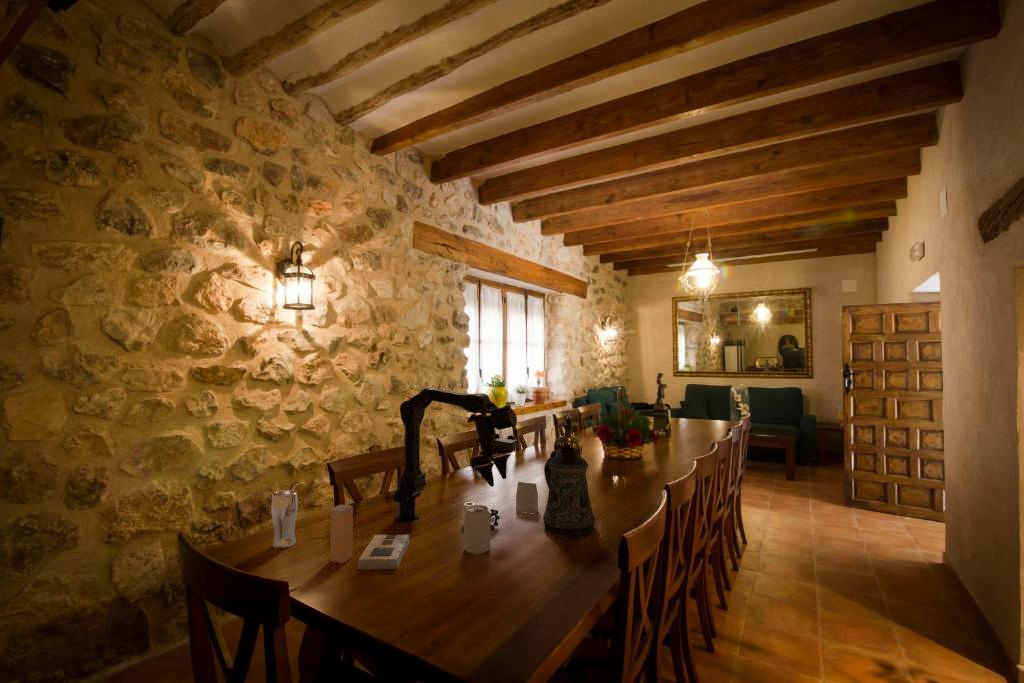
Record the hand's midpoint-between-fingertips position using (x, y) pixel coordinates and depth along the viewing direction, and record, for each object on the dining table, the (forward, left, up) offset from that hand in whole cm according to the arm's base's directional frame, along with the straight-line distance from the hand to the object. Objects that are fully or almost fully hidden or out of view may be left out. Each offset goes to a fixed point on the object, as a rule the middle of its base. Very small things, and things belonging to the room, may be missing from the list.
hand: (498, 482), depth 150 cm
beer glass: (-25, -58, -16) cm, 65 cm away
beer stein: (+7, +20, -16) cm, 27 cm away
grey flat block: (-2, -35, -15) cm, 38 cm away
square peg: (-6, -46, -15) cm, 49 cm away
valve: (-8, -3, -16) cm, 18 cm away
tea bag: (-12, +18, -16) cm, 27 cm away
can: (+8, -12, -16) cm, 21 cm away
